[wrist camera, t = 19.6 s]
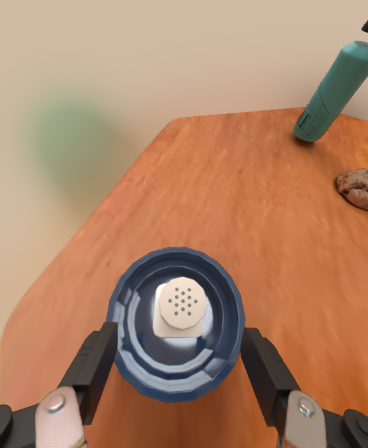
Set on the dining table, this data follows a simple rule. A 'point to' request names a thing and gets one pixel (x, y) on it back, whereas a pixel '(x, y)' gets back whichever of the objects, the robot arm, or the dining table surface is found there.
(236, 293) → the bowl
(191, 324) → the salt shaker
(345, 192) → the cookie
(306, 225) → the dining table surface
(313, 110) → the beverage bottle
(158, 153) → the dining table surface
